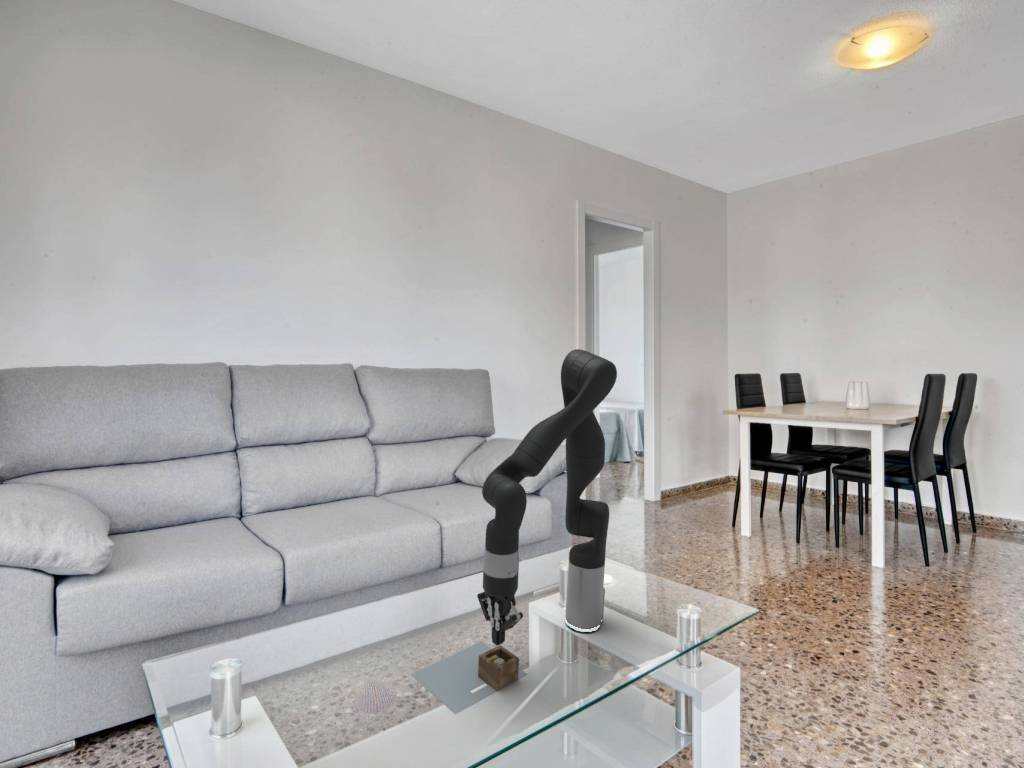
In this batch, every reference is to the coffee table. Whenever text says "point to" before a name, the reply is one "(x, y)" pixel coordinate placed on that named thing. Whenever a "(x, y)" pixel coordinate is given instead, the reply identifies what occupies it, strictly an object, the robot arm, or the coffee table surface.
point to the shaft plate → (458, 678)
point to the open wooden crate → (498, 668)
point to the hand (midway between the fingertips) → (498, 643)
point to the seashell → (374, 697)
